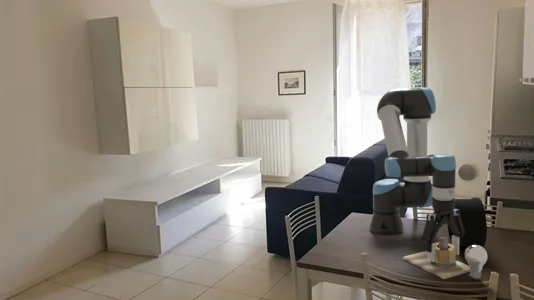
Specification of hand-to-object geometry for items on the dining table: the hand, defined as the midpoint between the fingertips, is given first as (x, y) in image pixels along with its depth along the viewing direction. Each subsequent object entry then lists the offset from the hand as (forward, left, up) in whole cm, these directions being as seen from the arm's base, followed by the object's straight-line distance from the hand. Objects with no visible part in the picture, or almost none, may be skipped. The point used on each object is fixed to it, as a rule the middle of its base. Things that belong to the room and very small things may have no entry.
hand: (443, 256), depth 152 cm
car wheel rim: (-11, +23, -4) cm, 26 cm away
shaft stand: (-3, 0, -4) cm, 5 cm away
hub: (0, 0, -1) cm, 1 cm away
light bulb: (+12, +2, -4) cm, 13 cm away
